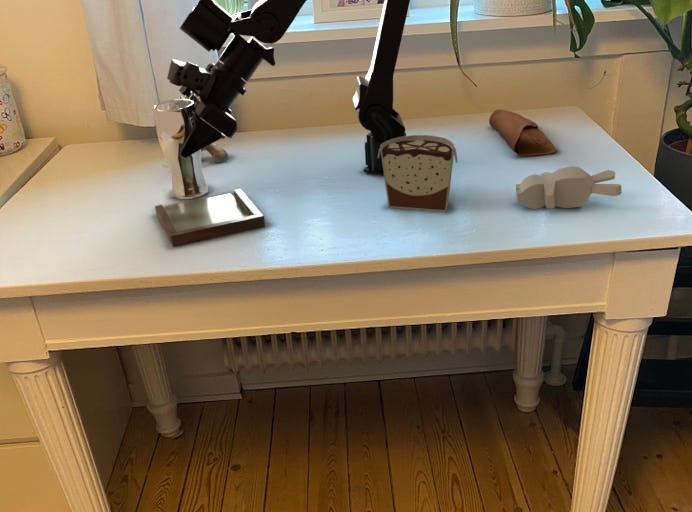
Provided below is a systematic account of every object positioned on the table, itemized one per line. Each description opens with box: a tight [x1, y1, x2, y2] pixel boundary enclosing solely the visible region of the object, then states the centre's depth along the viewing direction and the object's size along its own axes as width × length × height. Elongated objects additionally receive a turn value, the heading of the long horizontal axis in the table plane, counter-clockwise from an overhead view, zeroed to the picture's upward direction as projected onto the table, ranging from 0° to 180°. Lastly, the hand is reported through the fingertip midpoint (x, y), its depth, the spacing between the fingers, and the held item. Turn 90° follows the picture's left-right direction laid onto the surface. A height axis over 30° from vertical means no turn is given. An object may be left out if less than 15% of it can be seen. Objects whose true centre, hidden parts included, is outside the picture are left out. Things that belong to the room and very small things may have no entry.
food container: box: [378, 134, 458, 213], centre depth 117 cm, size 12×6×10 cm, turn 71°
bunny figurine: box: [515, 166, 623, 210], centre depth 115 cm, size 10×5×15 cm
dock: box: [154, 188, 266, 248], centre depth 120 cm, size 16×14×2 cm
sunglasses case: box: [488, 109, 557, 158], centre depth 141 cm, size 18×7×7 cm
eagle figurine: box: [201, 142, 229, 163], centre depth 143 cm, size 8×7×9 cm
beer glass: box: [152, 98, 209, 200], centre depth 126 cm, size 7×7×15 cm
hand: (178, 150), depth 126 cm, fingers closed on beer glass, 7 cm apart
